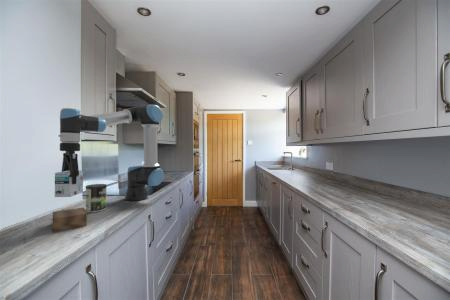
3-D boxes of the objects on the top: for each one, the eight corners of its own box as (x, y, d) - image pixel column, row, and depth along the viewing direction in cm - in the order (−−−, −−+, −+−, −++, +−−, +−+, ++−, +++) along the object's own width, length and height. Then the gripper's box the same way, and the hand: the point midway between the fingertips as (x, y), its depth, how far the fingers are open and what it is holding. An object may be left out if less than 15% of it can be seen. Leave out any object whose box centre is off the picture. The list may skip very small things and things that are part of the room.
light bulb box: (70, 197, 90) (71, 172, 90) (53, 197, 88) (53, 172, 88) (83, 192, 100) (83, 170, 100) (68, 192, 99) (68, 170, 99)
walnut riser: (83, 219, 103) (84, 207, 103) (86, 226, 94) (86, 213, 94) (52, 224, 95) (52, 211, 95) (52, 233, 86) (52, 218, 86)
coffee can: (110, 207, 123) (110, 183, 123) (99, 212, 112) (99, 187, 112) (93, 206, 123) (93, 183, 123) (80, 212, 113) (81, 186, 113)
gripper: (54, 142, 99) (53, 186, 99) (66, 142, 83) (66, 194, 84) (73, 143, 105) (72, 184, 105) (88, 142, 89) (87, 192, 89)
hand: (69, 189), depth 94 cm, fingers closed on light bulb box, 12 cm apart
